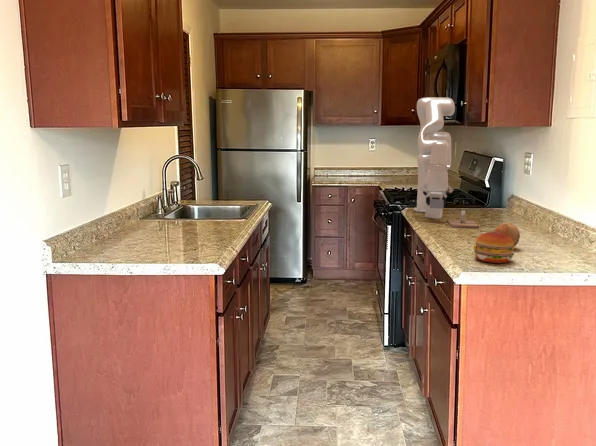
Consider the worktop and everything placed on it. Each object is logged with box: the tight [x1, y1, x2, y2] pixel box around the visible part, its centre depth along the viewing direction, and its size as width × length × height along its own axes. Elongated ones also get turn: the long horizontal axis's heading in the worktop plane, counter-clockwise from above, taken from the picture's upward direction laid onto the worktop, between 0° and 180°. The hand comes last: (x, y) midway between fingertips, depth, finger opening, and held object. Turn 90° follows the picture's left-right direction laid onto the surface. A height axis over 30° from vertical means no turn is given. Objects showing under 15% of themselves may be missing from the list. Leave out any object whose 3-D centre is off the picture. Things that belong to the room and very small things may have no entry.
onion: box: [493, 222, 521, 248], centre depth 210 cm, size 10×10×10 cm
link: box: [428, 197, 445, 209], centre depth 264 cm, size 8×6×4 cm
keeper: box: [446, 210, 480, 229], centre depth 258 cm, size 16×12×6 cm
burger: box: [473, 231, 515, 264], centre depth 191 cm, size 13×14×10 cm
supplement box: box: [424, 192, 444, 220], centre depth 277 cm, size 7×7×13 cm
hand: (435, 204), depth 264 cm, fingers closed on link, 6 cm apart
